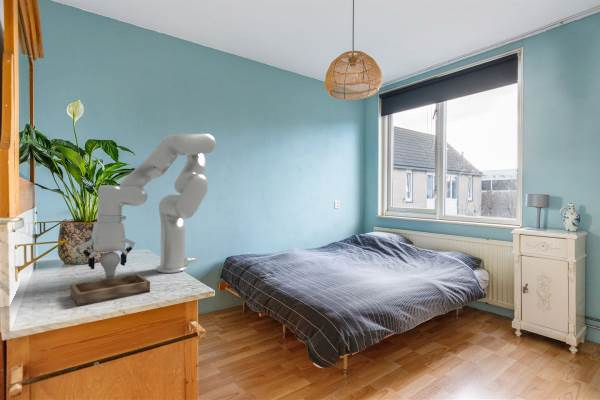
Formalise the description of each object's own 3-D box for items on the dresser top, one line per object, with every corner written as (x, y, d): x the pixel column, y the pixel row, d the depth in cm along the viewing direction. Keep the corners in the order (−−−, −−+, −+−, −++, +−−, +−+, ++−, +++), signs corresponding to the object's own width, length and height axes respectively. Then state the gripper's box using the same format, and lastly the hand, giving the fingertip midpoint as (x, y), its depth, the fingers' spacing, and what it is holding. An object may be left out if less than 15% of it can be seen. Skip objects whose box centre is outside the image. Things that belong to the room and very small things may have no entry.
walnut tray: (138, 283, 114) (138, 273, 114) (149, 291, 105) (150, 281, 105) (70, 295, 100) (70, 284, 100) (77, 306, 91) (77, 294, 91)
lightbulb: (123, 279, 117) (123, 250, 117) (112, 284, 111) (112, 254, 111) (108, 278, 118) (108, 249, 117) (96, 283, 112) (96, 253, 111)
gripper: (132, 218, 122) (130, 262, 122) (78, 219, 110) (76, 267, 110) (138, 220, 117) (136, 265, 117) (83, 221, 105) (81, 272, 105)
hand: (107, 266), depth 114 cm, fingers open, 9 cm apart
